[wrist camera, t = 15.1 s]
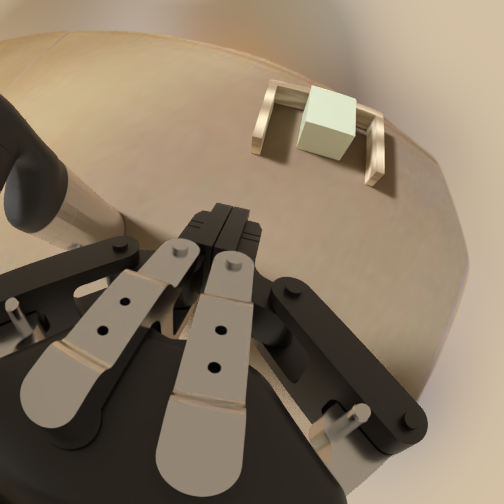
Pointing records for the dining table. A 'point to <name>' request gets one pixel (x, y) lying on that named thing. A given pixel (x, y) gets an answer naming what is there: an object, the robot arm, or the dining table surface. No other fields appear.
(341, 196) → the dining table surface
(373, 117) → the birch corral
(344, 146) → the sage block
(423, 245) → the dining table surface
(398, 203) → the dining table surface
